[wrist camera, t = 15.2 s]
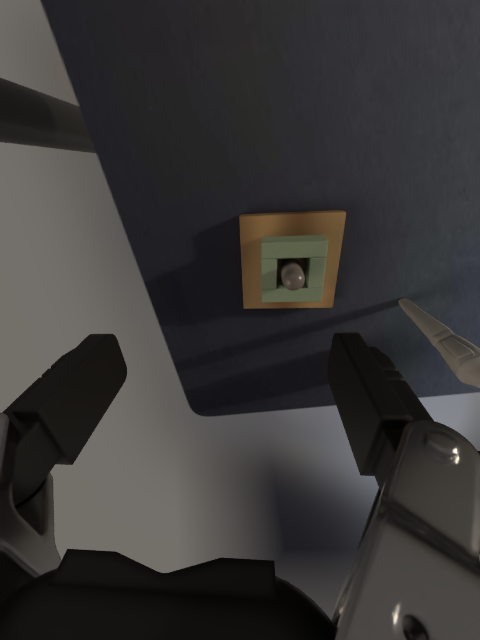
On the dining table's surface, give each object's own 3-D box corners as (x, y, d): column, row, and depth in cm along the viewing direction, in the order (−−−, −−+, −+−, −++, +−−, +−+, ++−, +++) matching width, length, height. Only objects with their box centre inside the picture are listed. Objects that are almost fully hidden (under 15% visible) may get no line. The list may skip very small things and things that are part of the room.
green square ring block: (261, 292, 28) (261, 302, 26) (260, 236, 25) (260, 243, 23) (316, 291, 28) (321, 301, 25) (322, 234, 25) (328, 240, 22)
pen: (394, 315, 30) (483, 410, 18) (385, 298, 29) (473, 387, 17) (416, 304, 29) (526, 397, 17) (408, 286, 28) (517, 371, 16)
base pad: (244, 303, 31) (240, 332, 25) (240, 214, 26) (234, 225, 20) (329, 302, 30) (345, 331, 24) (342, 209, 25) (365, 220, 19)
